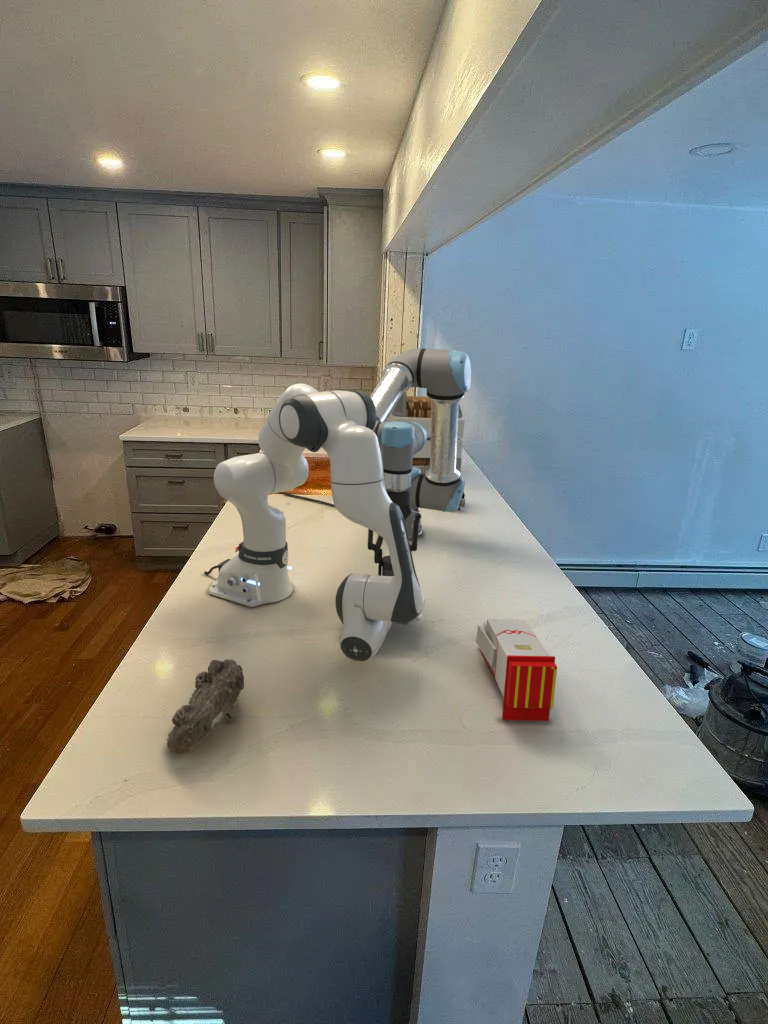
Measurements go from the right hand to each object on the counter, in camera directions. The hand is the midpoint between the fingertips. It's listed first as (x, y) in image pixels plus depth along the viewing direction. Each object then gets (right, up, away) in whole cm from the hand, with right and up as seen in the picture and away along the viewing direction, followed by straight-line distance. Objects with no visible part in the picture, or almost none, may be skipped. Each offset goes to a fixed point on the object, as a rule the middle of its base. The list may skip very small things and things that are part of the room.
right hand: (390, 574), depth 144 cm
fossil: (-34, -23, -36) cm, 55 cm away
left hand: (0, -4, +2) cm, 5 cm away
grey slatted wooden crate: (+16, +35, +131) cm, 136 cm away
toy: (+25, -20, -21) cm, 39 cm away
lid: (0, +4, -1) cm, 4 cm away
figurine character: (+27, +18, +86) cm, 92 cm away
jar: (0, -10, +4) cm, 11 cm away
